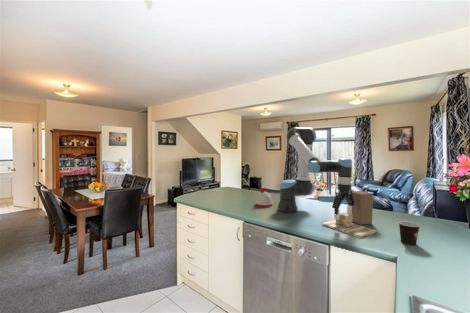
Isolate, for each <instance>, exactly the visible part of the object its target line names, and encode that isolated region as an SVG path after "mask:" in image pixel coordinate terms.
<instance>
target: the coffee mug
mask: <svg viewBox="0 0 470 313" xmlns="http://www.w3.org/2000/svg"><path fill="white" fill-rule="evenodd" d="M398 227H399V235H400V237H399V238H400V242H401V243H402V244H403V243H404V245H406V244H407V246H413V247H414V246H416V245H417V243H418V242H417V240H418V236H419V232H420V231H419V230H420V225H419V223H415V222H412V221H404V220H403V221H399V222H398Z"/></svg>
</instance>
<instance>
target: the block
mask: <svg viewBox="0 0 470 313" xmlns="http://www.w3.org/2000/svg"><path fill="white" fill-rule="evenodd" d="M351 191H352V195H353V199H354V206H352V215H353V220H352V223H353V224H356V225H360V226H363V225H364V226H365V225H371V224H372V223H373V211H374V210H373V207H374V206H373V205H374V194H373V193H372V192H367V191H363V190H356V191H353V190H351Z"/></svg>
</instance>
